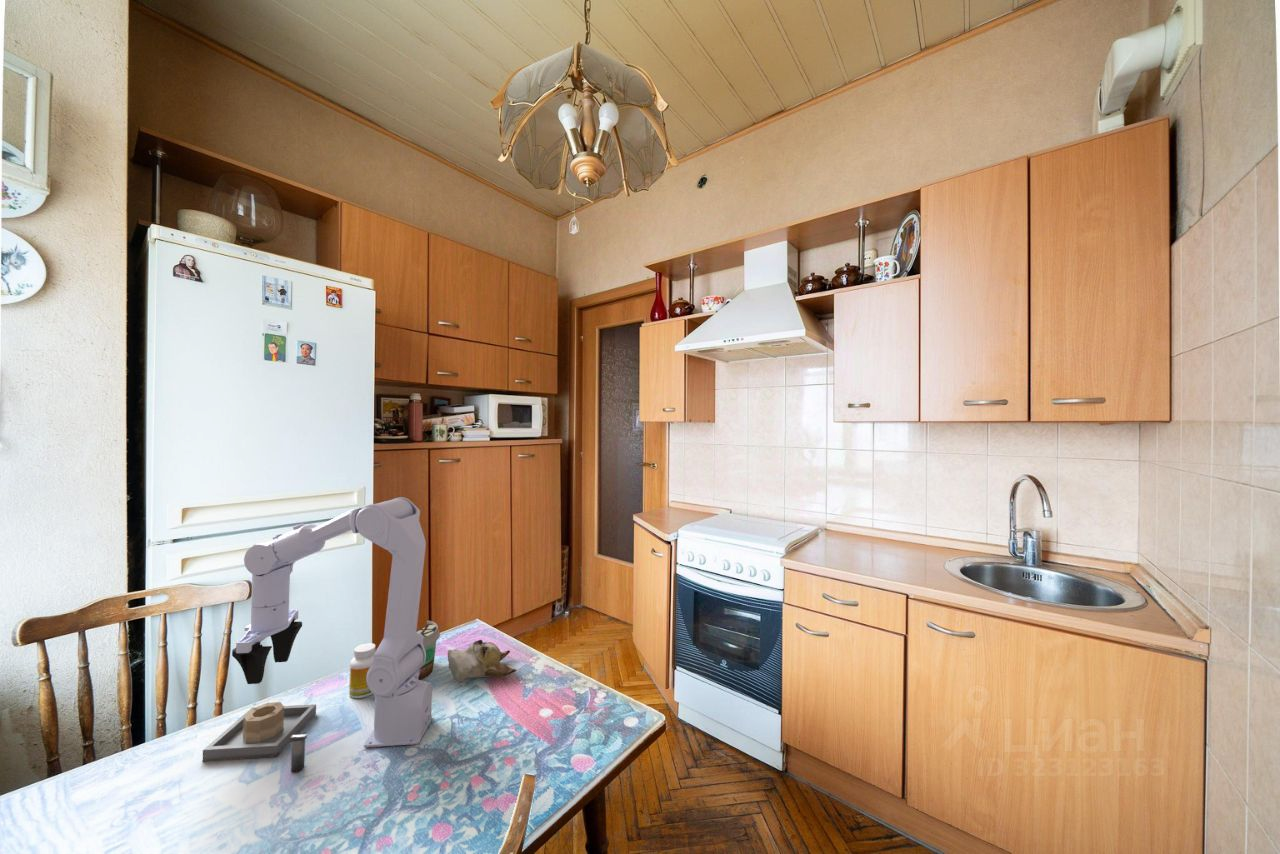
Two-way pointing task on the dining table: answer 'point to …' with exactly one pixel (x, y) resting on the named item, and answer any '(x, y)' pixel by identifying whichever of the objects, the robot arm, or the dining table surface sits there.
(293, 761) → the stake
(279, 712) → the ring
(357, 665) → the supplement bottle
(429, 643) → the food container
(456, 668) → the ceramic sculpture
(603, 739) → the dining table surface
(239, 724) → the tray
